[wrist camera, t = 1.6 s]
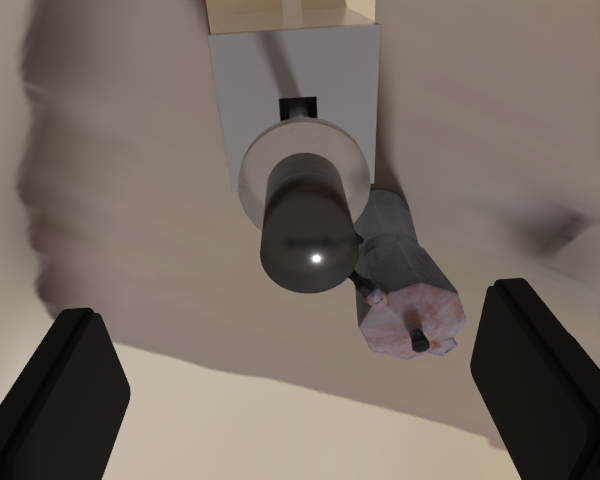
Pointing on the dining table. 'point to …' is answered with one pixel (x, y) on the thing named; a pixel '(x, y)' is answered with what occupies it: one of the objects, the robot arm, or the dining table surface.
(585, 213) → the dining table surface
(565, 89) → the dining table surface
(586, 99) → the dining table surface
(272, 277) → the plunger
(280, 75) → the white box
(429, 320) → the moka pot
